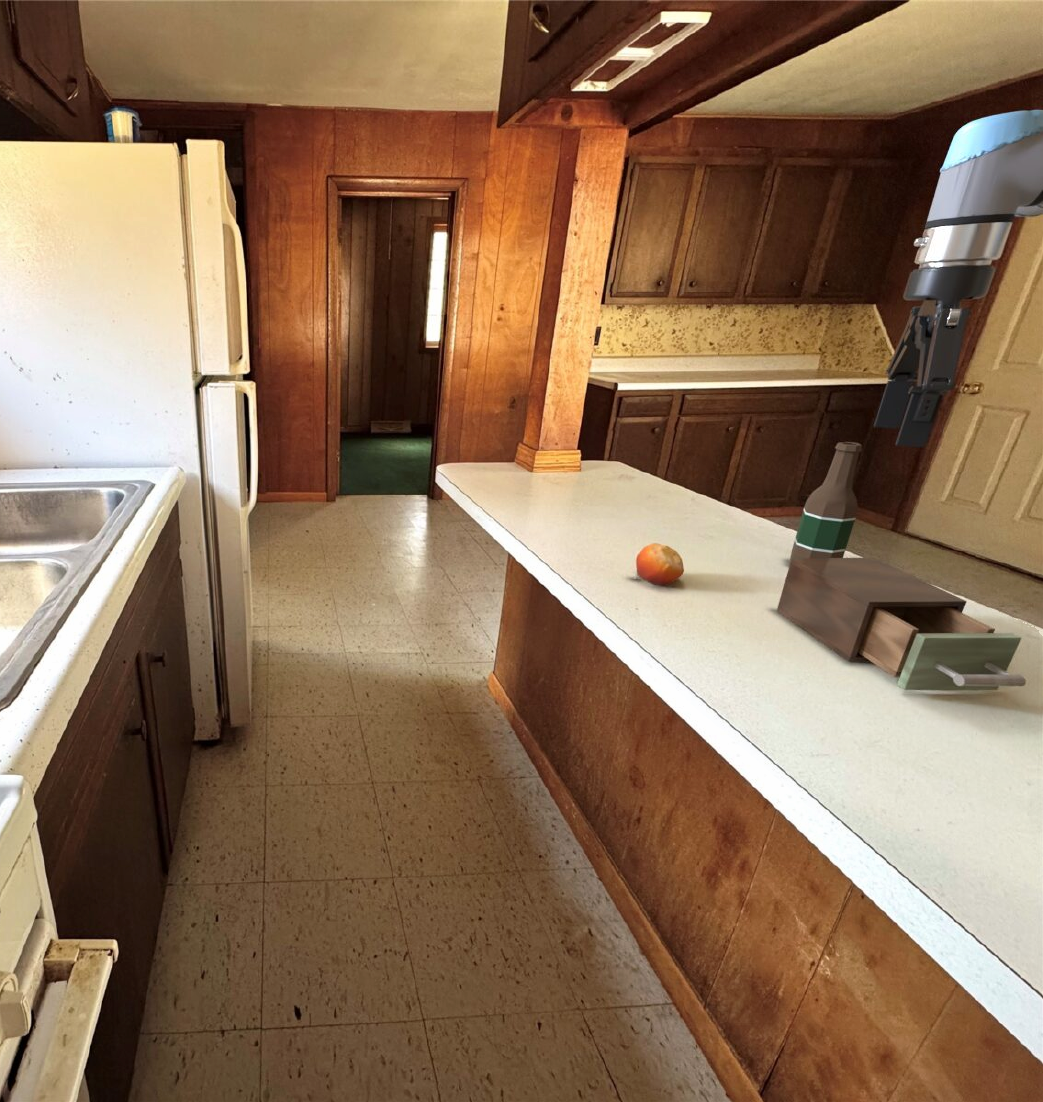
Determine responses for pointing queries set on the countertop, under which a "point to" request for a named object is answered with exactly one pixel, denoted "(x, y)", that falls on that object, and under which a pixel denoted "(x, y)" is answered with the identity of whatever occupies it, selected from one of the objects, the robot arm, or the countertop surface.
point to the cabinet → (851, 598)
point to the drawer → (939, 649)
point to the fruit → (659, 564)
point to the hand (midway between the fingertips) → (897, 436)
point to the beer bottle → (830, 509)
